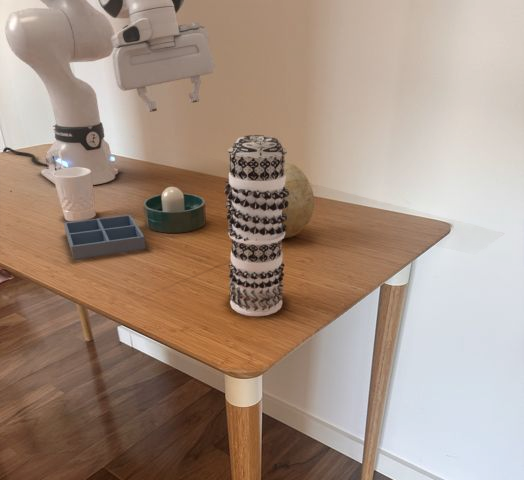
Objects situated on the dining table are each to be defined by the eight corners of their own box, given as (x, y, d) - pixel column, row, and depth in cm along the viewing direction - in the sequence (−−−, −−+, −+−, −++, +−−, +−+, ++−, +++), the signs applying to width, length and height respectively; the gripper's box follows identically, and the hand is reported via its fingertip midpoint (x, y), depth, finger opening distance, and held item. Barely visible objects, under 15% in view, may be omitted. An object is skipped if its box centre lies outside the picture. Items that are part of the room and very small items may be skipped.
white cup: (54, 220, 111) (44, 174, 105) (77, 209, 117) (68, 165, 112) (84, 225, 109) (75, 178, 103) (105, 214, 115) (98, 169, 109)
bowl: (134, 225, 109) (130, 202, 107) (180, 210, 117) (178, 189, 115) (171, 240, 102) (169, 216, 99) (218, 224, 110) (217, 202, 108)
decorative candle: (218, 311, 79) (211, 142, 65) (241, 286, 86) (239, 129, 72) (272, 322, 76) (277, 149, 62) (291, 295, 83) (300, 135, 69)
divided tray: (66, 236, 103) (63, 222, 102) (132, 228, 108) (130, 214, 106) (74, 261, 93) (71, 246, 91) (146, 251, 98) (144, 236, 96)
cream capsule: (159, 222, 109) (155, 187, 105) (176, 216, 112) (173, 182, 108) (173, 227, 107) (170, 192, 102) (190, 222, 110) (187, 187, 105)
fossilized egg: (242, 229, 108) (242, 157, 100) (296, 222, 112) (300, 152, 103) (264, 251, 98) (265, 173, 90) (322, 243, 102) (328, 167, 94)
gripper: (200, 23, 103) (214, 97, 110) (102, 39, 97) (124, 116, 104) (210, 18, 98) (224, 96, 105) (108, 35, 92) (131, 117, 99)
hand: (174, 106), depth 105 cm, fingers open, 8 cm apart
